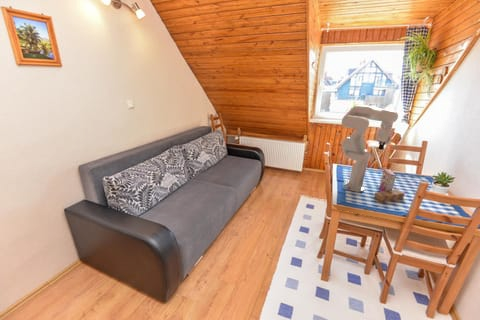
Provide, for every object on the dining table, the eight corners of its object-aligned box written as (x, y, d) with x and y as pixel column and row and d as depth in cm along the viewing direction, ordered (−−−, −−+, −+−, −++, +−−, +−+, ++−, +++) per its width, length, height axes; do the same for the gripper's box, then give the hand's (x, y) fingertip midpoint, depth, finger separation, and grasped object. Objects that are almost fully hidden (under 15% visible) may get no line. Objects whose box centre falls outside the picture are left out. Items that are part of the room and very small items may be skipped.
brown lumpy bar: (381, 203, 152) (382, 196, 150) (373, 198, 157) (375, 192, 156) (403, 199, 157) (404, 193, 156) (395, 195, 163) (397, 189, 161)
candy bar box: (378, 188, 173) (383, 168, 167) (385, 189, 171) (390, 169, 166) (383, 194, 162) (388, 174, 157) (390, 195, 161) (396, 175, 156)
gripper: (374, 124, 178) (369, 146, 184) (389, 128, 164) (383, 152, 170) (383, 124, 179) (377, 146, 185) (398, 128, 165) (392, 152, 171)
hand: (380, 149), depth 178 cm, fingers closed
